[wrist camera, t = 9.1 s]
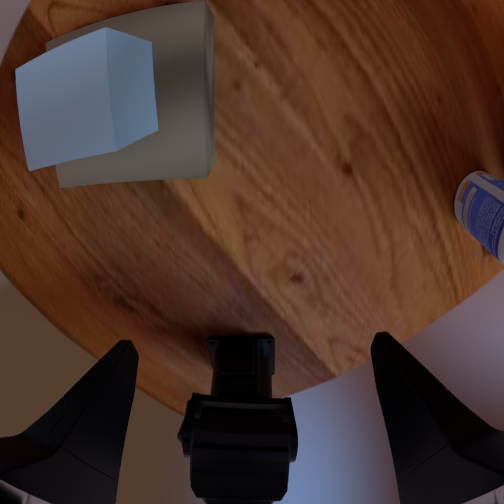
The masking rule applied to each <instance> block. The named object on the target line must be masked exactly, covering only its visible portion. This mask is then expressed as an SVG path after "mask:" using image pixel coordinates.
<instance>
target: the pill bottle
mask: <svg viewBox="0 0 504 504" xmlns="http://www.w3.org/2000/svg"><path fill="white" fill-rule="evenodd" d="M454 210H455V215H456V218H457V220H458V222H459V223H460V224H461V225H462V226H463V227H464V228H465V229H466V230H467V231H468V232H470V233H471V234H472V235H473V236H474V237H475V238H476V239H477V240H478V241H479V242H480V243H481V244H482V245H484V246H485V247H486V248H487V249H488V250H489V251H490V252H491V253H492V254H493V255H494V256H495V257H496V258H497V259H498V260H499V262H500V263H501V264H502V265H503V266H504V182H503V181H501V180H499V179H498V178H496V177H494V176H492V175H491V174H489V173H487V172H484V171H475V172H472V173H471V174H469V175H468V176H466V177H465V178H464V179H463V181H462V182H461V184H460V185H459V187H458V190H457V193H456V196H455V202H454Z"/></svg>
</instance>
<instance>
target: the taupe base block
mask: <svg viewBox="0 0 504 504" xmlns="http://www.w3.org/2000/svg"><path fill="white" fill-rule="evenodd" d="M105 27H107V28H110V29H114V30H117V31H120V32H123V33H126V34H129V35H133V36H135V37H138V38H141V39H144V40H147V41H150V42H152V56H153V73H154V87H155V100H156V110H157V120H158V131H156V132H154V133H151V134H149V135H147V136H145V137H143V138H141V139H139V140H137V141H135V142H133V143H131V144H130V145H128V146H126V147H124V148H122V149H120V150H118V151H116V152H110V153H105V154H99V155H94V156H89V157H85V158H80V159H76V160H71V161H67V162H63V163H59V164H55V167H56V172H57V177H58V182H59V187H60V188H67V187H75V186H84V185H94V184H105V183H116V182H129V181H144V180H163V179H189V178H207V176H208V175H209V173H210V171H211V169H212V167H213V165H214V163H215V140H214V15H213V13H212V12H211V10H210V8H209V7H208V5H207V3H206V2H205V0H204V1H194V2H186V3H179V4H172V5H166V6H160V7H155V8H150V9H145V10H140V11H136V12H132V13H128V14H124V15H120V16H117V17H113V18H110V19H106V20H103V21H100V22H97V23H94V24H91V25H88V26H85V27H82V28H80V29H77V30H74V31H72V32H69V33H67V34H64V35H62V36H59V37H57V38H55V39H52V40H50V41H48V42H46V52H48V51H50V50H52V49H54V48H56V47H58V46H61V45H63V44H65V43H67V42H70V41H72V40H74V39H77V38H79V37H81V36H84V35H86V34H89V33H92V32H94V31H97V30H100V29H103V28H105Z"/></svg>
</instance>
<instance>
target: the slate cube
mask: <svg viewBox="0 0 504 504" xmlns="http://www.w3.org/2000/svg"><path fill="white" fill-rule="evenodd" d="M15 71H16V90H17V102H18V111H19V119H20V127H21V133H22V139H23V145H24V150H25V155H26V160H27V165H28V169H29V171H32V170H36V169H39V168H43V167H47V166H51V165H55V164H59V163H63V162H67V161H71V160H76V159H80V158H85V157H89V156H94V155H99V154H105V153H110V152H116V151H118V150H120V149H122V148H124V147H126V146H128V145H130V144H131V143H133V142H135V141H137V140H139V139H141V138H143V137H145V136H147V135H149V134H151V133H154V132H156V131H158V120H157V110H156V100H155V87H154V73H153V56H152V42H150V41H147V40H144V39H141V38H138V37H135V36H133V35H129V34H126V33H123V32H120V31H117V30H114V29H110V28H107V27H105V28H103V29H100V30H97V31H94V32H92V33H89V34H86V35H84V36H81V37H79V38H77V39H74V40H72V41H70V42H67V43H65V44H63V45H61V46H58V47H56V48H54V49H52V50H50V51H48V52H46V53H44V54H42V55H40V56H38V57H36V58H35V59H33V60H31V61H29V62H27V63H26V64H24V65H22V66H20V67H19V68H17V69H15Z"/></svg>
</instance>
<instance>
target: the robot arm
mask: <svg viewBox="0 0 504 504" xmlns="http://www.w3.org/2000/svg"><path fill="white" fill-rule="evenodd" d="M269 340H270V341H269ZM211 341H212V342H211ZM207 345H208V349H209V353H210V356H211V360H212V364H213V367H214V368H213V377H212V385H211V394H210V395H203V394H199V393H193V394H192V398H191V400H189V401H188V402H187V408H186V414H185V417H184V420H183V422H182V425H181V427H180V430H179V432H178V436H177V438H178V440H179V441H180V443H181V444H182V448H183V453H184V456H185V457H186V458H190V481H191V488H192V490H193V492H194V494H195V495H196V497H197V498H202V499H203V500H204V502H205V503H206V504H272V503H273V502H274V501H281V500H282V498H283V496H284V495H285V493H286V492H287V488H288V476H289V464H290V462H294V461H295V460H296V456H297V450H298V434H297V427H296V422H295V417H294V412H293V407H292V402H291V398H290V397H285V398H272V377H271V375H274V373H275V339H274V337H273V336H239V337H209V338H208V339H207ZM371 357H372V364H373V370H374V377H375V383H376V389H377V393H378V396H379V401H380V405H381V408H382V413H383V416H384V421H385V425H386V429H387V434H388V439H389V443H390V448H391V453H392V458H393V463H394V468H395V474H396V478H397V479H396V480H397V486H398V492H399V499H400V504H504V431H501V430H498V429H495V428H493V427H492V426H490V425H489V424H487V423H486V422H485V421H484V420H482V419H481V418H480V417H479V416H477V415H476V414H475V413H474V412H472V411H471V410H470V409H469V408H468V407H466V406H465V405H464V404H463V403H462V402H461V401H459V400H458V399H457V398H456V397H455V396H454V395H453V394H452V393H451V392H450V391H449V390H446V387H445V386H444V385H443V384H442V383H441V382H440V381H439V380H438V379H437V378H436V377H435V376H433V375H432V374H431V373H430V372H429V371H428V370H427V369H426V368H425V367H424V366H423V365H422V364H421V363H420V362H419V361H418V360H417V359H416V358H415V357H414V356H412V354H410V353H409V352H408V351H407V350H406V349H405V348H404V347H403V346H402V345H401V344H400V343H399V342H398V341H397V340H396V339H394V338H393V337H392V336H391V335H390V334H389V333H388V332H385V331H384V332H378V333H376V334H375V337H374V339H373V342H372V345H371ZM138 360H139V356H138V353H137V351H136V349H135V347H134V345H133V343H132V341H130V340H120V341H119V342H118V343H117V344H116V345H115V346H114V347H113V348H112V349H111V350H109V351H108V352H107V353H106V354H105V355H104V356H103V357H102V358H101V359H100V360H99V361H98V362H97V363H96V364H95V365H94V366H93V367H92V368H91V369H90V370H89V371H88V372H87V373H86V374H85V375H84V376H83V377H82V378H81V379H80V380H79V381H78V382H77V383H76V384H75V385H74V386H73V387H72V388H71V389H70V390H69V391H68V392H67V393H66V394H65V395H64V397H62V398H61V399H60V400H59V401H58V402H57V403H56V404H55V405H54V406H53V407H52V408H51V409H50V410H49V411H47V412H46V413H45V414H44V415H43V416H42V417H40V418H39V419H38V420H37V421H36V422H34V423H33V424H32V425H31V426H30V427H28V428H27V429H26V430H25V431H23V432H22V433H20V434H18V435H15V436H11V437H3V438H0V504H115V503H116V495H117V486H118V479H119V471H120V466H121V460H122V453H123V448H124V442H125V437H126V431H127V426H128V421H129V416H130V411H131V407H132V402H133V398H134V392H135V385H136V376H137V368H138Z"/></svg>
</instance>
